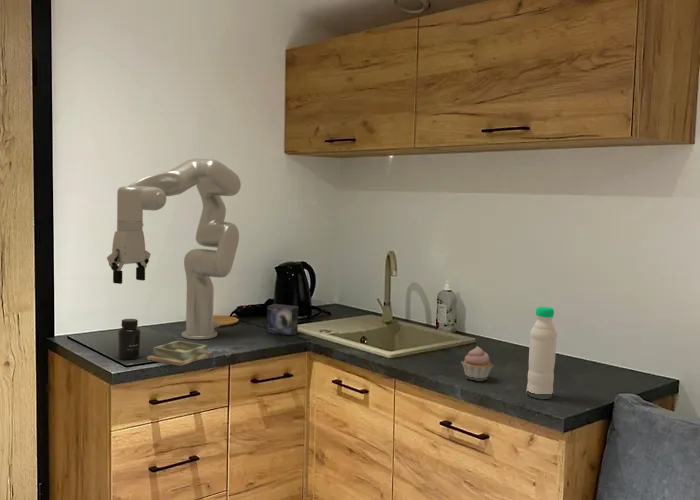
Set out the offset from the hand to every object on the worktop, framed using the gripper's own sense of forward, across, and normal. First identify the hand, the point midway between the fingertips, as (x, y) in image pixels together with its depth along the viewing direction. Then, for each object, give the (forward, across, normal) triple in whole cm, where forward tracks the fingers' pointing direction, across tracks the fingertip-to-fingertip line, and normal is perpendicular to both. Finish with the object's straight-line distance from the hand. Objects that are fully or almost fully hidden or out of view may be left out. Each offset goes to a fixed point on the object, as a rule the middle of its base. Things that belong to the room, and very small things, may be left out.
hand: (129, 281), depth 212 cm
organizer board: (+24, -9, +13) cm, 29 cm away
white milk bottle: (+24, -31, +121) cm, 127 cm away
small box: (+24, -57, +21) cm, 66 cm away
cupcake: (+24, -38, +101) cm, 111 cm away
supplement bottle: (+24, 0, 0) cm, 24 cm away
